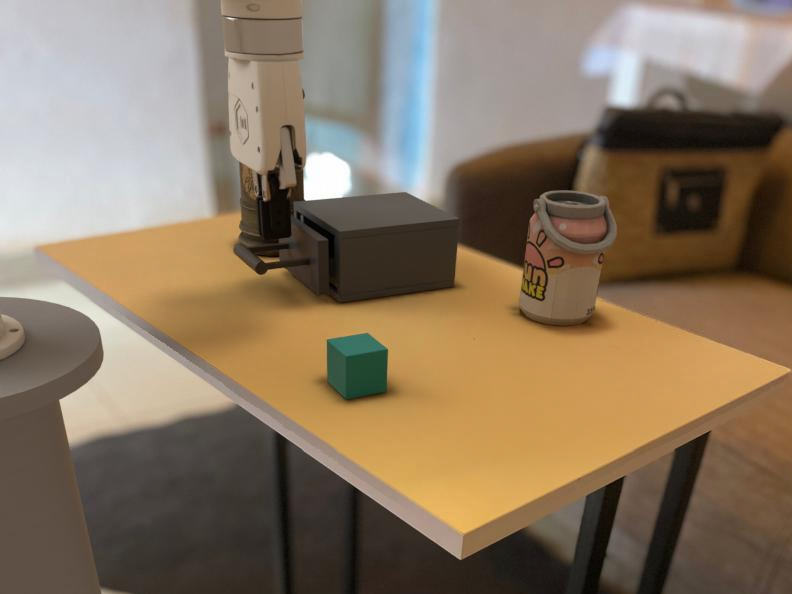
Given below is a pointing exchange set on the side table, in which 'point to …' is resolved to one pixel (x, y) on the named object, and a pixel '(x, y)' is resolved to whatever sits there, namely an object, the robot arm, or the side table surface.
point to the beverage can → (565, 256)
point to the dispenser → (386, 244)
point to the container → (249, 208)
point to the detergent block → (357, 365)
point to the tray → (299, 255)
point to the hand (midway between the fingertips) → (275, 236)
